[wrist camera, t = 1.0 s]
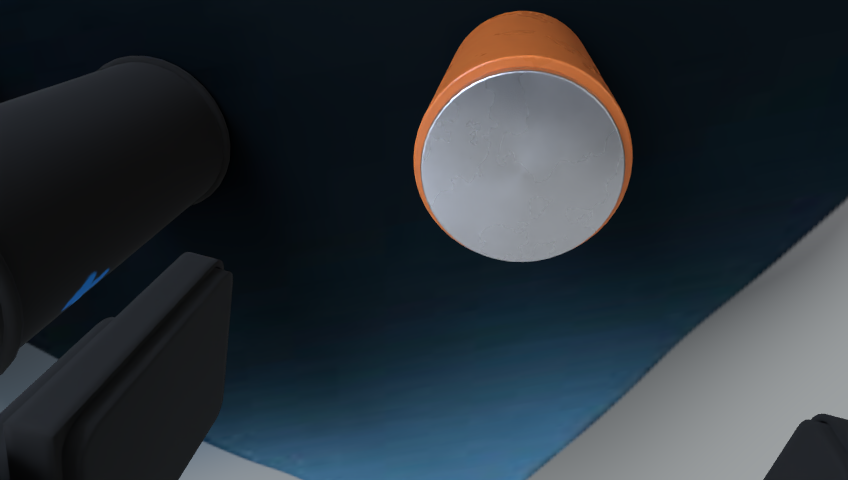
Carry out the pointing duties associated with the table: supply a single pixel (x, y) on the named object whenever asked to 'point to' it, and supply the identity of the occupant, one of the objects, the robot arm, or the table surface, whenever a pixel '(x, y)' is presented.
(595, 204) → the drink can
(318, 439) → the table surface
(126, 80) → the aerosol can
